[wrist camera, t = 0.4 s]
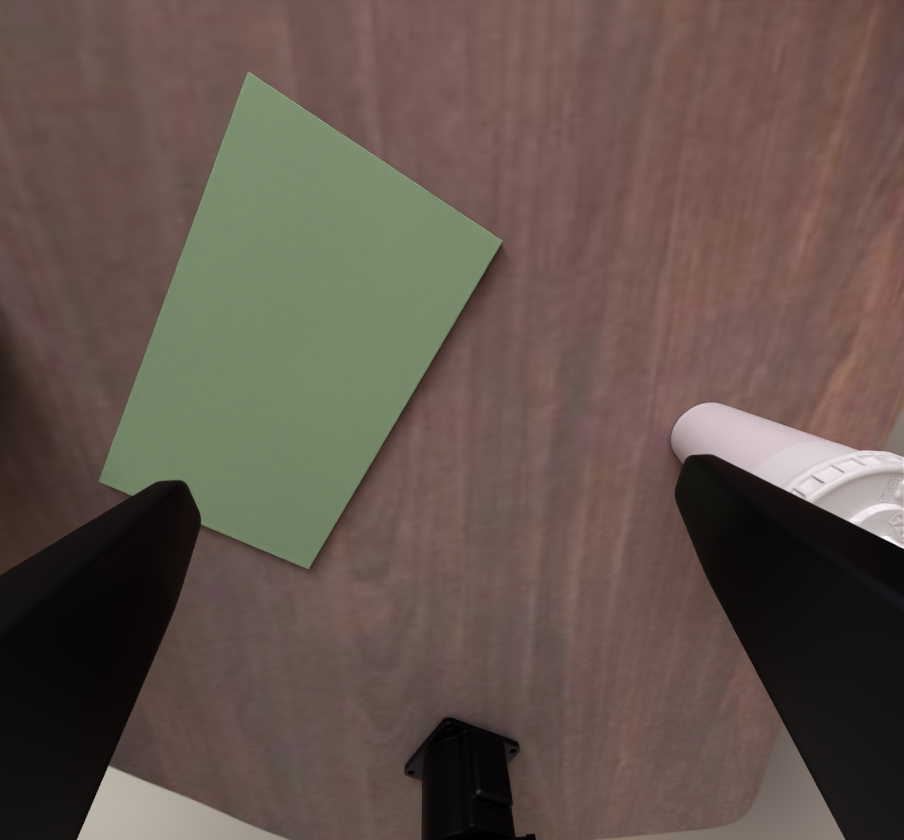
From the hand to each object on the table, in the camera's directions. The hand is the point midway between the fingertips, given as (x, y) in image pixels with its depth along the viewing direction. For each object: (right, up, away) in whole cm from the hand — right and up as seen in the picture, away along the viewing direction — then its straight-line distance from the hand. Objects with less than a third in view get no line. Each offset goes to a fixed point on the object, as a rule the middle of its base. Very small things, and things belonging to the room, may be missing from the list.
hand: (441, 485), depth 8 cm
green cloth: (-8, +4, +14) cm, 17 cm away
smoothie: (+14, +1, +17) cm, 22 cm away
